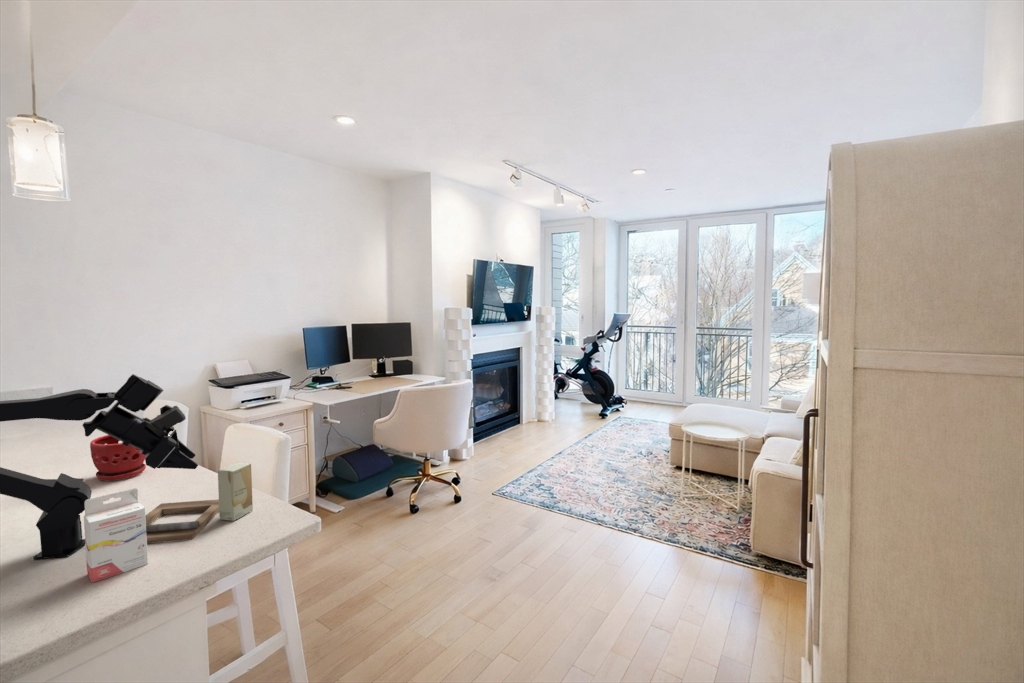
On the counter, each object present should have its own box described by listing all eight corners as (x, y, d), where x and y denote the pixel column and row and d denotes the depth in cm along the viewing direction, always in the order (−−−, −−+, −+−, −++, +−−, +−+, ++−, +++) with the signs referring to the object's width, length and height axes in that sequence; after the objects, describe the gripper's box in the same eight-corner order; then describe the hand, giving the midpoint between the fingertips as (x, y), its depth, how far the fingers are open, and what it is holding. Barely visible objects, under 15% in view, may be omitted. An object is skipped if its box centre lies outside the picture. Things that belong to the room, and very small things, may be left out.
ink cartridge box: (91, 584, 85) (85, 507, 84) (86, 574, 88) (81, 500, 87) (149, 564, 92) (144, 492, 90) (142, 555, 95) (138, 486, 93)
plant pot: (81, 482, 134) (77, 441, 133) (128, 466, 147) (125, 429, 146) (115, 486, 131) (112, 445, 130) (160, 470, 144) (158, 432, 143)
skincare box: (234, 521, 109) (231, 471, 108) (218, 520, 110) (215, 470, 109) (254, 510, 116) (252, 462, 115) (239, 508, 116) (237, 461, 115)
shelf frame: (192, 539, 101) (191, 526, 101) (114, 545, 98) (113, 533, 98) (226, 504, 119) (226, 493, 119) (161, 509, 116) (160, 498, 116)
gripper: (156, 405, 97) (224, 441, 105) (156, 391, 112) (216, 425, 120) (114, 450, 93) (187, 485, 102) (119, 430, 108) (183, 462, 116)
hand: (195, 461), depth 110 cm, fingers open, 9 cm apart
